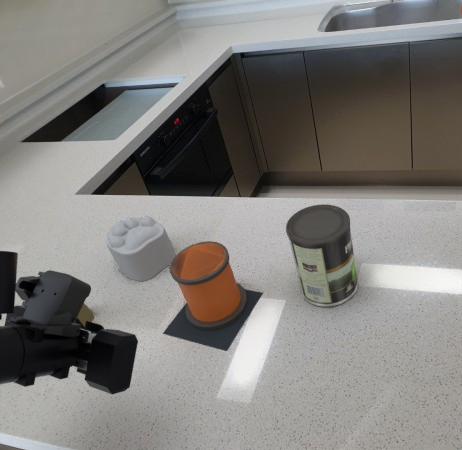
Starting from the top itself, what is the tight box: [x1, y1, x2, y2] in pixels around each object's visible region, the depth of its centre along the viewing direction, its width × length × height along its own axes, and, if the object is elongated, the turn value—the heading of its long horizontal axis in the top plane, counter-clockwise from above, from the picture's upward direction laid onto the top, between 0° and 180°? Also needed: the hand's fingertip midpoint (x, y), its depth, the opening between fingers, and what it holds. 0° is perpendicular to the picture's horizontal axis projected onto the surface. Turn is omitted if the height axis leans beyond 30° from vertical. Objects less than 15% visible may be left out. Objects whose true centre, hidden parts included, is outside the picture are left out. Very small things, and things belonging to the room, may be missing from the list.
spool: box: [169, 240, 248, 331], centre depth 78 cm, size 11×11×11 cm
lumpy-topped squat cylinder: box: [105, 215, 177, 282], centre depth 94 cm, size 10×13×9 cm
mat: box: [162, 288, 264, 351], centre depth 81 cm, size 13×13×1 cm
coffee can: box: [285, 204, 359, 308], centre depth 77 cm, size 10×10×14 cm
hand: (120, 338), depth 61 cm, fingers closed
